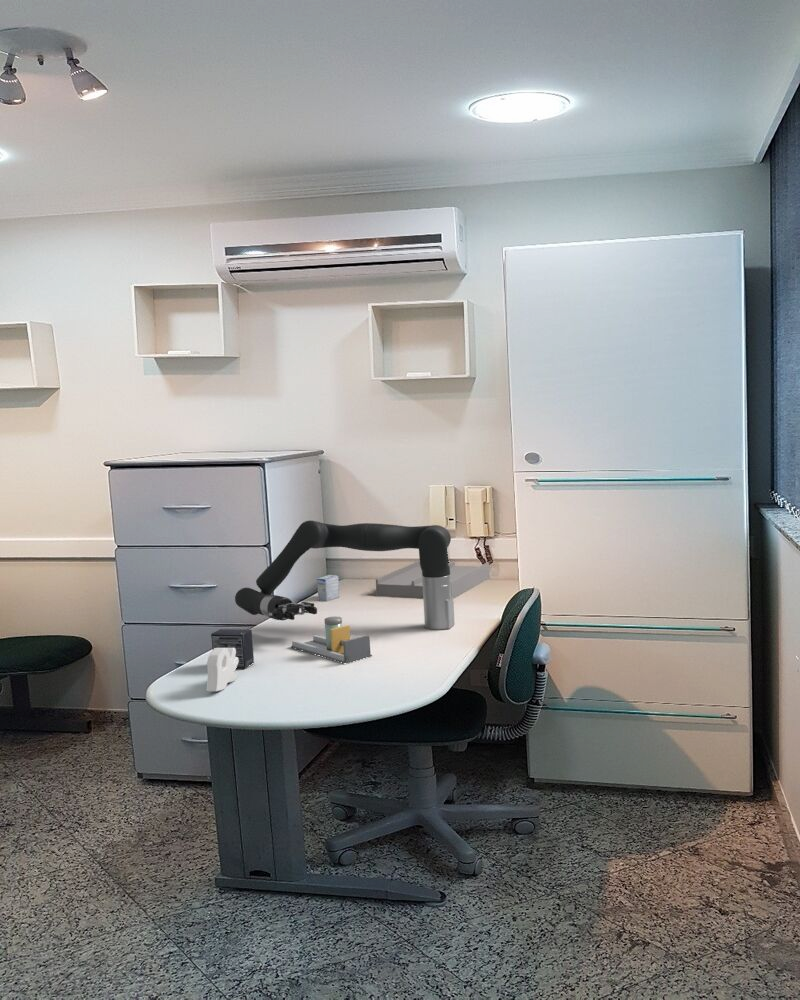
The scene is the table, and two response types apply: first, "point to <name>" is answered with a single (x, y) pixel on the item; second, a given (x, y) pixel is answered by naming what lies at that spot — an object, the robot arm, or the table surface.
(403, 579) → the desk organizer
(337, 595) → the medicine box
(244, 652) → the small box
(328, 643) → the green jar
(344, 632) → the pusher plate
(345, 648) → the pusher lane
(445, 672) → the table surface
